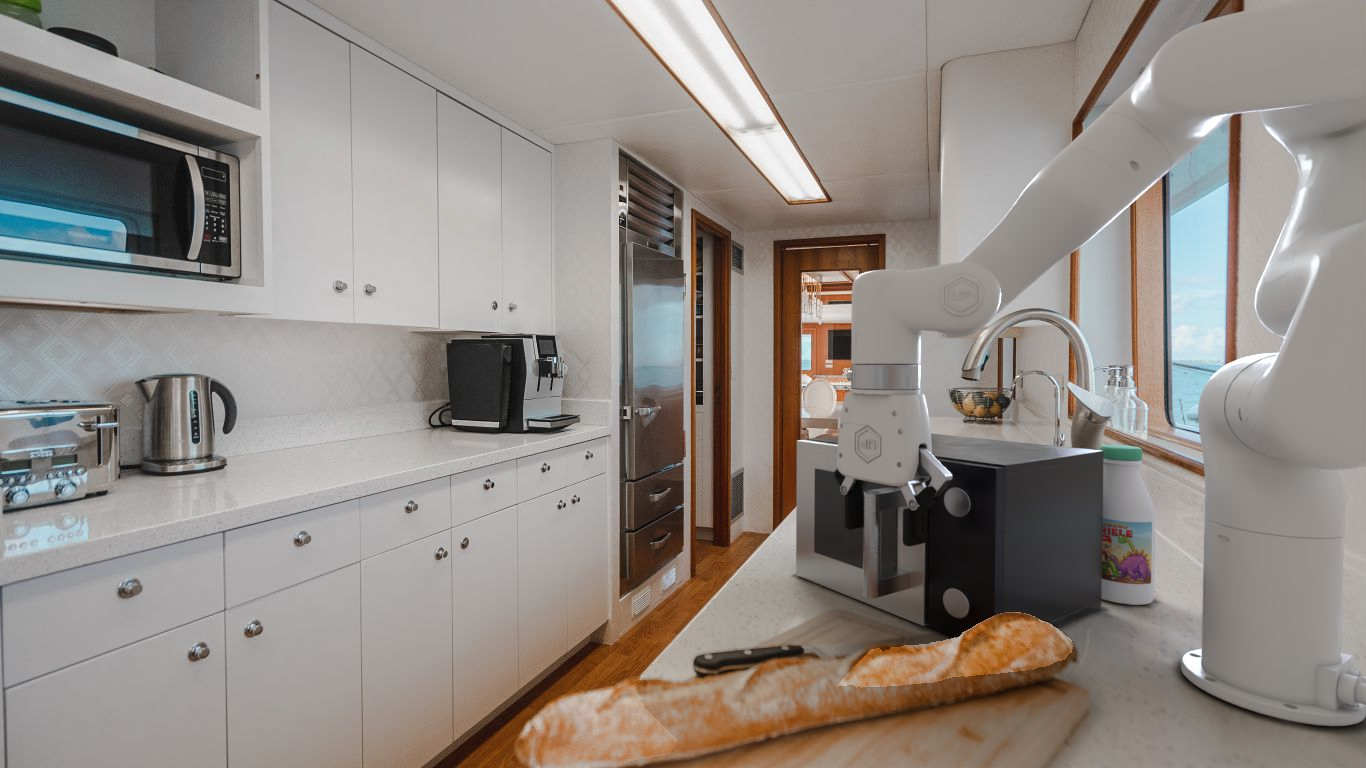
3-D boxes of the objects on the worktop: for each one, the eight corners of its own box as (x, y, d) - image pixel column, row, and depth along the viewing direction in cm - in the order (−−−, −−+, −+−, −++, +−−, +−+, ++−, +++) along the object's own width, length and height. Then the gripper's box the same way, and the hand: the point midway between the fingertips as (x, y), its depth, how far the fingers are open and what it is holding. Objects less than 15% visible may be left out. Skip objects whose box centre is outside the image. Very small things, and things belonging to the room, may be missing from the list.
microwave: (989, 656, 66) (991, 467, 65) (793, 576, 91) (793, 439, 90) (1101, 608, 79) (1103, 450, 78) (902, 550, 104) (903, 430, 103)
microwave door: (886, 639, 69) (888, 462, 69) (761, 583, 88) (761, 443, 87) (932, 623, 74) (934, 457, 73) (803, 573, 92) (804, 439, 92)
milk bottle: (1091, 581, 89) (1094, 441, 88) (1159, 595, 83) (1162, 446, 83) (1077, 595, 83) (1079, 446, 83) (1148, 611, 78) (1151, 451, 77)
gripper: (806, 380, 76) (805, 524, 77) (931, 383, 61) (929, 561, 62) (849, 379, 80) (848, 516, 81) (976, 382, 66) (974, 549, 66)
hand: (883, 534), depth 71 cm, fingers open, 7 cm apart
